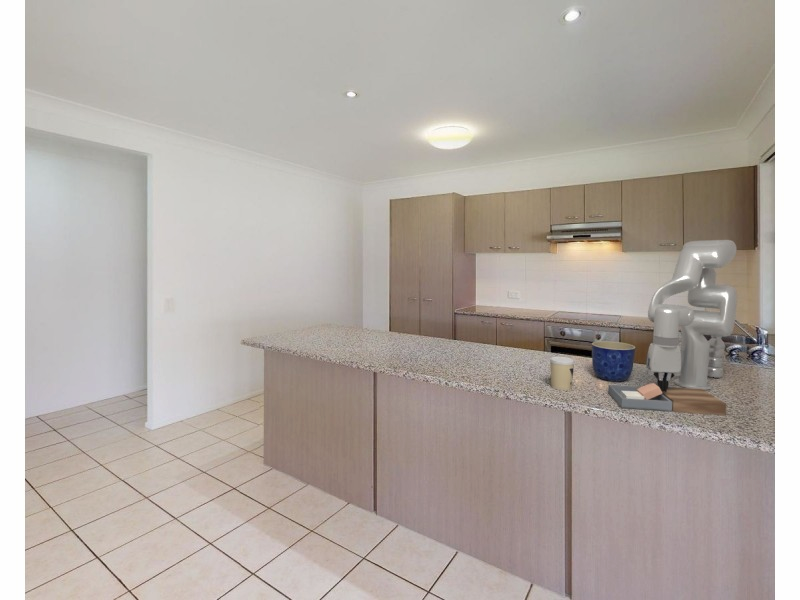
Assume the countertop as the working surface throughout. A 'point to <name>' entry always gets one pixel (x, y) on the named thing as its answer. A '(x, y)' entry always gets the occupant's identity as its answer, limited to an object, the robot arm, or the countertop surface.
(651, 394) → the terracotta tile
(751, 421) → the countertop surface
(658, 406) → the tray
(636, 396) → the cream tile
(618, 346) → the planter
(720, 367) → the plastic bottle
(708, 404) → the walnut board
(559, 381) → the coffee cup
